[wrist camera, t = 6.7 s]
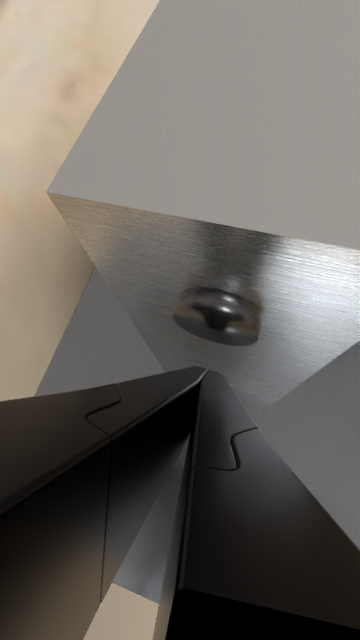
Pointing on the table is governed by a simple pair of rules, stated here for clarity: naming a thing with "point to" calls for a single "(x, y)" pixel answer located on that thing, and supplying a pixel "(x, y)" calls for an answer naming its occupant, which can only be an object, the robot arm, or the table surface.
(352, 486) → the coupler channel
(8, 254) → the table surface
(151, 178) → the block
